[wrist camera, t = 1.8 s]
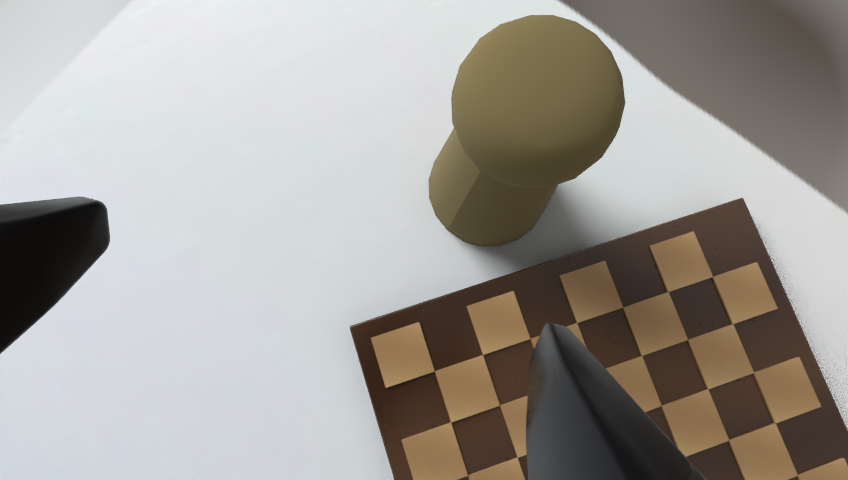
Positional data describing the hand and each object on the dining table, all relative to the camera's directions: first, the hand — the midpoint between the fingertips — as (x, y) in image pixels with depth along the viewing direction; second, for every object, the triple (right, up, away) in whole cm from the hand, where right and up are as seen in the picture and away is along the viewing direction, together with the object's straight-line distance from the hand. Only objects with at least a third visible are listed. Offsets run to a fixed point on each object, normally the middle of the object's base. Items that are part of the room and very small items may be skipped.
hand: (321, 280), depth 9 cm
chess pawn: (+5, +3, +15) cm, 16 cm away
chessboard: (+11, -10, +12) cm, 19 cm away
